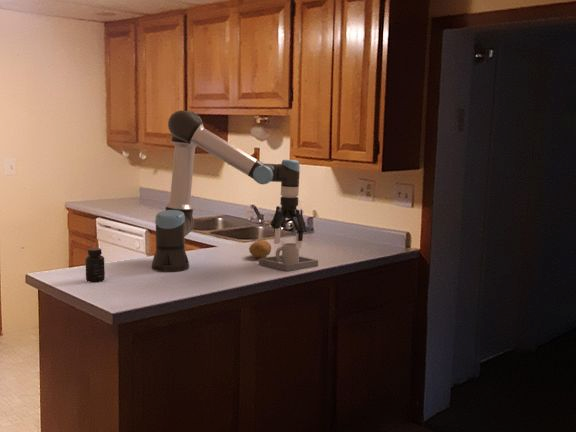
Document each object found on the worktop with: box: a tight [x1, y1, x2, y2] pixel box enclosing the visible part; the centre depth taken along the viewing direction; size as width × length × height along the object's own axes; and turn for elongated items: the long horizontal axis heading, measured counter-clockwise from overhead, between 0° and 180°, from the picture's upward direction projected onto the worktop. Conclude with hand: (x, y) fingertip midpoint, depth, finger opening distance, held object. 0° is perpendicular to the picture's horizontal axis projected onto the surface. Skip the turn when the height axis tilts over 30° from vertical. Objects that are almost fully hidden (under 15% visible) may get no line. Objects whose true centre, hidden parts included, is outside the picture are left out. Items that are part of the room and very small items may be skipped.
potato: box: [248, 239, 272, 259], centre depth 295 cm, size 10×14×8 cm
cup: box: [275, 242, 300, 264], centre depth 279 cm, size 7×10×9 cm
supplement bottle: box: [85, 247, 106, 283], centre depth 244 cm, size 7×7×12 cm
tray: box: [258, 254, 319, 272], centre depth 280 cm, size 18×18×2 cm
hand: (287, 246), depth 279 cm, fingers open, 13 cm apart
